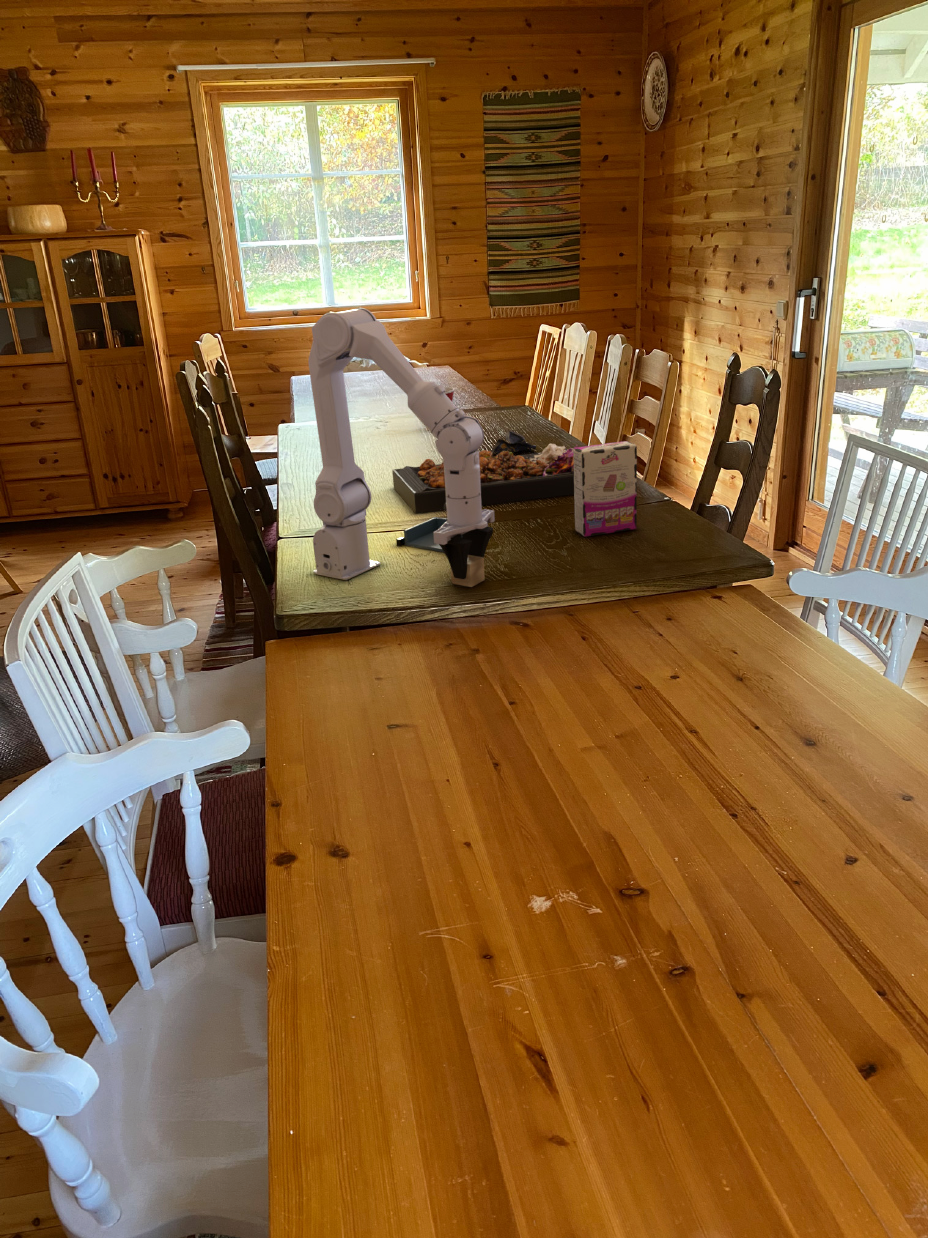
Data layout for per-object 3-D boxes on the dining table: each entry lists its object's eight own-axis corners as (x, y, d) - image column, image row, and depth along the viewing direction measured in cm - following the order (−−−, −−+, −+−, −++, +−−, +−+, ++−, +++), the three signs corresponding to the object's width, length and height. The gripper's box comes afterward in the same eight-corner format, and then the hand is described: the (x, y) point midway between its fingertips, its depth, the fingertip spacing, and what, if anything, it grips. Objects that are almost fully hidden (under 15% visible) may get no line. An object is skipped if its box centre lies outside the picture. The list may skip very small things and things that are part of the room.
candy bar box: (625, 523, 180) (627, 439, 174) (637, 529, 176) (638, 444, 169) (573, 530, 177) (572, 446, 171) (583, 537, 173) (582, 451, 167)
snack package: (496, 448, 254) (487, 456, 243) (499, 425, 251) (490, 432, 241) (538, 455, 252) (531, 463, 241) (542, 432, 249) (534, 439, 238)
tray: (451, 553, 168) (449, 520, 166) (404, 545, 174) (402, 513, 172) (483, 538, 176) (482, 506, 174) (437, 531, 182) (435, 500, 180)
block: (471, 587, 151) (469, 564, 149) (451, 583, 153) (450, 560, 152) (484, 579, 154) (483, 557, 152) (465, 576, 156) (464, 554, 155)
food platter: (571, 467, 227) (571, 425, 223) (611, 489, 205) (612, 443, 201) (393, 487, 217) (390, 444, 213) (415, 513, 195) (412, 465, 191)
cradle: (455, 556, 167) (454, 548, 166) (396, 545, 174) (396, 538, 174) (460, 553, 168) (459, 546, 167) (401, 543, 176) (401, 536, 175)
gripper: (457, 508, 140) (462, 591, 145) (508, 486, 151) (511, 564, 156) (420, 503, 144) (426, 584, 149) (473, 482, 155) (477, 558, 160)
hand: (467, 573), depth 153 cm, fingers closed on block, 4 cm apart
